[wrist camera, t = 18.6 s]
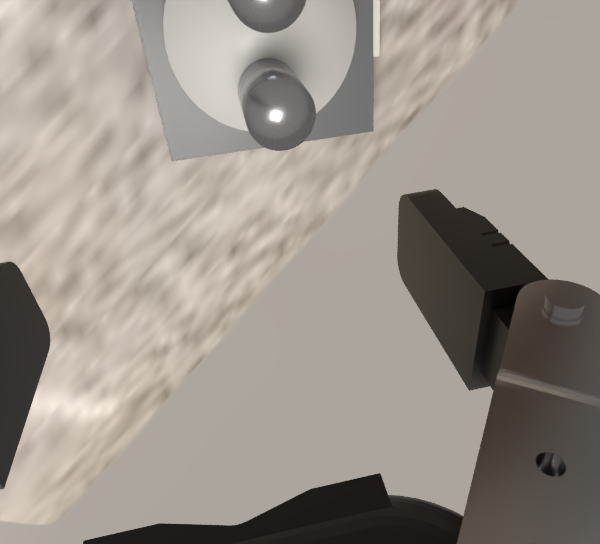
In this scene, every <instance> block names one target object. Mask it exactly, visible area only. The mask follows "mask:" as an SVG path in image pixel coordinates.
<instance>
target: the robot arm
mask: <svg viewBox="0 0 600 544" xmlns="http://www.w3.org/2000/svg"><path fill="white" fill-rule="evenodd" d="M397 254H398V255H397V258H398V266H399V271H400V275H401V277H402V280H403V282H404V284H405V285H406V287H407V289H408V291H409V292H410V294H411V296H412V297H413V299H414V300H415V302H416V304H417V306H418V307H419V309H420V311H421V312H422V314H423V315H424V317H425V319H426V320H427V322H428V324H429V325H430V327H431V329H432V330H433V332H434V333H435V335H436V337H437V338H438V340H439V341H440V343H441V345H442V347H443V348H444V350H445V352H446V353H447V355H448V356H449V358H450V360H451V361H452V363H453V364H454V366H455V368H456V369H457V371H458V373H459V375H460V376H461V378H462V380H463V381H464V383H465V385H466V386H467V388H468V389H469V390H473V389H478V388H483V387H488V386H491V388H492V389H493V390H494V391H493V395H492V399H491V404H490V408H489V412H488V416H487V420H486V424H485V429H484V433H483V437H482V442H481V445H480V450H479V454H478V458H477V462H476V466H475V470H474V474H473V479H472V483H471V487H470V491H469V495H468V500H467V504H466V508H465V512H464V516H462V515H460V514H458V513H456V512H454V511H452V510H450V509H447V508H445V507H442V506H440V505H437V504H435V503H431V502H428V501H424V500H420V499H416V498H410V497H404V496H394V495H388V494H387V491H386V489H385V485H384V483H383V480H382V477H381V474H375V475H371V476H366V477H362V478H357V479H353V480H349V481H344V482H340V483H335V484H331V485H327V486H322V487H318V488H313V489H310V490H308V491H306V492H304V493H302V494H300V495H298V496H296V497H294V498H292V499H290V500H288V501H286V502H284V503H282V504H280V505H278V506H277V507H274V508H272V509H271V510H268V511H267V512H265V513H263V514H260V515H259V516H257V517H255V518H253V519H251V520H249V521H247V522H244V523H242V524H239V525H234V526H233V525H232V526H223V525H192V524H155V525H152V526H147V527H142V528H138V529H134V530H129V531H125V532H120V533H116V534H112V535H107V536H103V537H99V538H94V539H90V540H85V541H84V542H83V544H600V295H599V294H598V293H597V292H595V291H593V290H591V289H590V288H587V287H585V286H583V285H580V284H577V283H573V282H569V281H563V280H549V279H547V278H546V277H545V276H544V275H543V274H542V273H541V272H540V271H539V270H538V269H537V268H536V267H535V266H534V265H533V264H532V263H531V262H530V261H529V260H528V259H527V258H526V257H525V256H524V255H523V254H522V253H521V252H520V251H519V250H518V249H517V248H516V247H515V246H514V245H513V244H510V243H509V240H508V239H507V238H505V237H504V235H502V234H501V233H498V230H497V229H496V228H495V227H494V226H493V225H492V224H491V223H490V222H489V221H488V220H487V219H486V218H485V217H483V216H481V215H479V214H477V213H475V212H473V211H471V210H469V209H466V208H464V207H463V208H457V209H456V208H455V207H454V206H453V205H452V204H451V203H450V202H449V200H448V199H447V198H446V197H445V196H444V195H442V193H441V192H440V191H439V190H436V189H434V190H428V191H423V192H417V193H411V194H405V195H402V196H401V198H400V202H399V218H398V252H397ZM49 347H50V333H49V328H48V324H47V321H46V319H45V317H44V315H43V313H42V311H41V309H40V307H39V305H38V304H37V302H36V300H35V298H34V296H33V294H32V292H31V290H30V288H29V286H28V284H27V282H26V280H25V278H24V276H23V274H22V273H21V271H20V269H19V268H18V266H17V265H16V264H14V263H12V262H4V263H0V489H4V487H5V484H6V481H7V478H8V475H9V472H10V469H11V465H12V462H13V459H14V456H15V453H16V450H17V447H18V444H19V441H20V438H21V435H22V432H23V428H24V425H25V422H26V419H27V416H28V413H29V410H30V407H31V404H32V401H33V398H34V395H35V391H36V388H37V385H38V382H39V379H40V376H41V373H42V370H43V367H44V364H45V361H46V358H47V354H48V351H49Z"/></svg>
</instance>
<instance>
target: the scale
mask: <svg viewBox="0 0 600 544" xmlns="http://www.w3.org/2000/svg"><path fill="white" fill-rule="evenodd" d="M132 3H133V7H134V11H135V15H136V19H137V23H138V27H139V31H140V35H141V39H142V43H143V47H144V51H145V55H146V59H147V63H148V67H149V71H150V75H151V79H152V83H153V88H154V92H155V96H156V100H157V104H158V108H159V112H160V116H161V120H162V124H163V128H164V132H165V136H166V140H167V144H168V148H169V152H170V156H171V160H172V161H177V160H184V159H191V158H197V157H204V156H211V155H217V154H224V153H231V152H238V151H244V150H251V149H258V148H264V147H263V146H262V145H260V144H259V143H257V142H256V141H255V140H254V139H253V137H252V136H251V134H250V133H249V131H248V128H247V125H246V122H245V118H244V115H243V112H242V108H241V105H240V101H239V97H238V83H239V79H240V77H241V75H242V73H243V72H244V70H245V69H246V68H247V67H248V66H249V65H250V64H252V63H253V62H255V61H257V60H260V59H264V58H273V59H277V60H280V61H282V62H284V63H285V64H287V65H288V66H289V67H290V68H291V69H292V70H293V72H294V73H295V74H296V76H297V77H298V78H299V80H300V81H301V82H302V84H303V85H304V86H305V88H306V89H307V90H308V92H309V93H310V95H311V96H312V98H313V101H314V104H315V108H316V119H315V124H314V127H313V129H312V131H311V133H310V134H309V136H308V137H307V138H306V139H305V140H304V141H311V140H318V139H325V138H331V137H338V136H345V135H351V134H358V133H365V132H371V131H373V57H376V56H379V48H380V0H306V3H305V6H304V8H303V11H302V12H301V14H300V16H299V17H298V18H297V20H296V21H295V22H294V23H293V24H292V25H290V26H289V27H287V28H286V29H284V30H281V31H279V32H274V33H262V32H258V31H255V30H253V29H251V28H249V27H247V26H246V25H245V24H243V23H242V22H241V21H240V20H239V18H238V17H237V16H236V15H235V13H234V11H233V10H232V8H231V6H230V4H229V3H228V1H227V0H132ZM304 141H303V142H304Z"/></svg>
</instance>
